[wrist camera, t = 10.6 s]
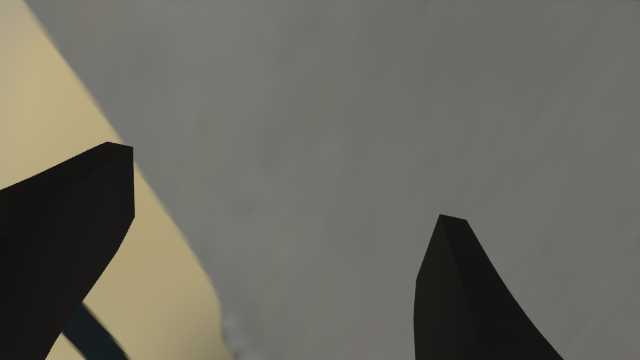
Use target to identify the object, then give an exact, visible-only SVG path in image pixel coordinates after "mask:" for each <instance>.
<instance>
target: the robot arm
mask: <svg viewBox="0 0 640 360" xmlns="http://www.w3.org/2000/svg"><path fill="white" fill-rule="evenodd" d="M134 217H135V204H134V167H133V147H130V146H126V145H121V144H117V143H112V142H105V143H103V144H100V145H98V146H96V147H94V148H92V149H89V150H87V151H85V152H83V153H81V154H79V155H77V156H75V157H72V158H70V159H68V160H66V161H64V162H62V163H60V164H58V165H56V166H54V167H52V168H50V169H47V170H45V171H43V172H41V173H39V174H37V175H35V176H32V177H30V178H28V179H25V180H23V181H21V182H19V183H16V184H14V185H11V186H9V187H7V188H4V189H2V190H0V360H45V359H46V357H47V355H48V354H49V352H50V349H51V348H52V346H53V345H54V343H55V341H56V339H57V338H58V336H59V335H60V333H61V332H62V330H63V329H64V327H65V325H66V324H67V322H68V321H69V320H70V318H71V317H72V315H73V314H74V313H75V311H76V310H77V308H78V307H79V305H80V304H81V303H82V301H83V300H84V298H85V297H86V296H87V294H88V293H89V291H90V290H91V288H92V287H93V286H94V284H95V283H96V281H97V280H98V279H99V277H100V276H101V274H102V273H103V271H104V270H105V268H106V267H107V266H108V264H109V263H110V261H111V260H112V258H113V257H114V255H115V254H116V252H117V251H118V249H119V247H120V245H121V243H122V241H123V239H124V237H125V236H126V233H127V232H128V229H129V227H130V225H131V223H132V221H133V219H134ZM413 319H414V341H415V360H564V359H563V358H562V357H561V356H560V355H559V354H558V353H557V352H556V351H555V349H554V348H553V347H552V346H551V345H550V344H549V342H548V341H547V340H546V339H545V338H544V337H543V335H542V334H541V333H540V332H539V331H538V329H537V328H536V327H535V326H534V324H533V323H532V322H531V321H530V319H529V318H528V317H527V315H526V314H525V312H524V311H523V310H522V308H521V307H520V306H519V304H518V303H517V302H516V300H515V299H514V297H513V296H512V294H511V293H510V292H509V290H508V289H507V287H506V285H505V284H504V282H503V281H502V279H501V278H500V276H499V274H498V273H497V271H496V270H495V268H494V266H493V265H492V263H491V261H490V260H489V258H488V256H487V255H486V253H485V251H484V250H483V248H482V246H481V244H480V243H479V241H478V239H477V237H476V236H475V234H474V232H473V230H472V229H471V227H470V225H469V224H468V222H467V220H465V219H460V218H456V217H451V216H446V215H442V214H440V215H439V218H438V220H437V223H436V226H435V229H434V232H433V234H432V237H431V240H430V243H429V245H428V248H427V251H426V254H425V257H424V259H423V262H422V265H421V268H420V270H419V273H418V276H417V279H416V290H415V302H414V317H413Z"/></svg>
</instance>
